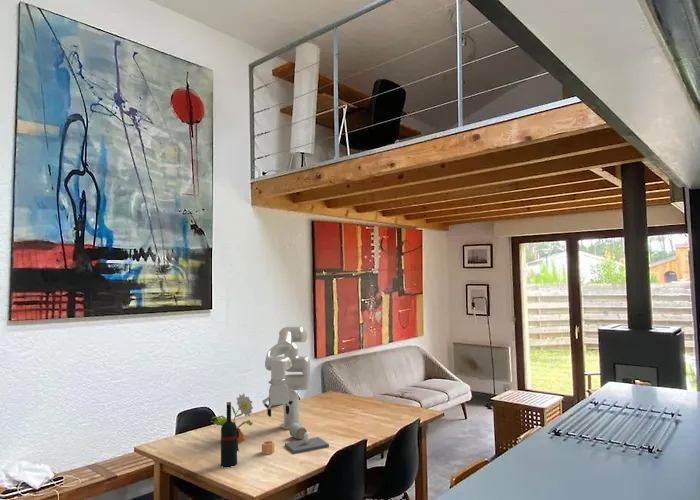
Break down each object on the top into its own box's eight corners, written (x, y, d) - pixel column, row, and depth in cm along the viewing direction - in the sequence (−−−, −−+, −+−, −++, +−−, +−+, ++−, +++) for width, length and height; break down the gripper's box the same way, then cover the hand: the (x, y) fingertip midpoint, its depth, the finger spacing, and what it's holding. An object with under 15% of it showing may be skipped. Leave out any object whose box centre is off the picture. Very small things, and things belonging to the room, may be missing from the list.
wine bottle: (244, 462, 239) (243, 400, 241) (228, 468, 230) (228, 405, 232) (233, 459, 243) (232, 398, 245) (217, 465, 235) (217, 403, 237)
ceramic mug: (297, 441, 269) (297, 427, 269) (288, 438, 275) (289, 424, 275) (312, 437, 275) (312, 423, 276) (304, 434, 282) (304, 420, 282)
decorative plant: (262, 439, 274) (261, 394, 276) (230, 451, 254) (230, 403, 256) (229, 431, 289) (229, 389, 290) (196, 443, 269) (196, 397, 270)
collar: (260, 451, 253) (260, 442, 253) (271, 449, 256) (271, 440, 256) (264, 455, 248) (264, 445, 248) (275, 453, 250) (275, 443, 251)
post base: (284, 446, 261) (284, 432, 262) (318, 439, 271) (318, 426, 271) (294, 453, 249) (293, 439, 249) (329, 447, 258) (328, 432, 259)
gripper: (264, 385, 250) (264, 418, 249) (295, 381, 257) (296, 414, 256) (260, 382, 257) (260, 415, 255) (291, 379, 264) (291, 411, 263)
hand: (278, 415), depth 256 cm, fingers open, 9 cm apart
